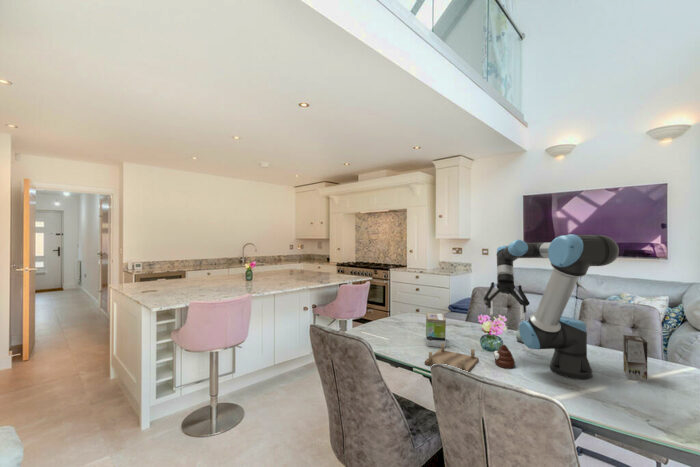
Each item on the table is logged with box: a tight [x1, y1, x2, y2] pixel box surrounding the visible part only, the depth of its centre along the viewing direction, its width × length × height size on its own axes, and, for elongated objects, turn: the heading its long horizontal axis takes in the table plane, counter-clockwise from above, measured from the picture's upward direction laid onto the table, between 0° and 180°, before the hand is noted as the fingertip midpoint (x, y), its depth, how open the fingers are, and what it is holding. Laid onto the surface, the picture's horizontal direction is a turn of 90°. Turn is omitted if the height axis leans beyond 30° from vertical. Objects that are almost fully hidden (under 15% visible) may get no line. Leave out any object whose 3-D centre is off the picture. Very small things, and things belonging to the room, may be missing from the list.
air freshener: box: [515, 321, 524, 343], centre depth 179 cm, size 11×8×10 cm
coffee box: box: [622, 334, 648, 383], centre depth 133 cm, size 9×6×16 cm
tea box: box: [425, 312, 447, 348], centre depth 178 cm, size 15×10×15 cm, turn 168°
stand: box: [424, 343, 480, 373], centre depth 149 cm, size 19×19×6 cm
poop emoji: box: [493, 344, 516, 369], centre depth 147 cm, size 10×8×9 cm
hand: (506, 317), depth 152 cm, fingers open, 13 cm apart
